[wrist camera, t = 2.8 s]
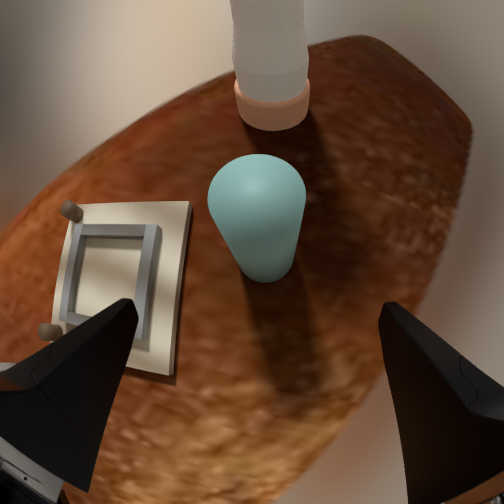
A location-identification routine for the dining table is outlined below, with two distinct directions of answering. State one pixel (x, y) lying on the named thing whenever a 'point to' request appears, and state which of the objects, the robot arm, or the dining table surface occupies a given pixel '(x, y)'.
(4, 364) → the caliper
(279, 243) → the pin
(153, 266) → the board
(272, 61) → the salt shaker
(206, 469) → the dining table surface
